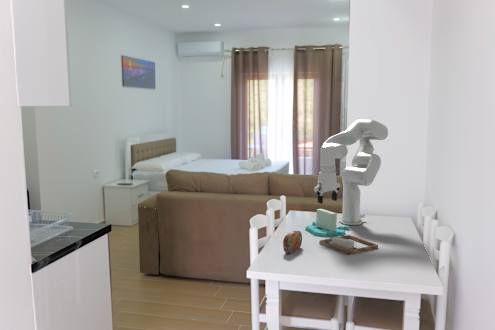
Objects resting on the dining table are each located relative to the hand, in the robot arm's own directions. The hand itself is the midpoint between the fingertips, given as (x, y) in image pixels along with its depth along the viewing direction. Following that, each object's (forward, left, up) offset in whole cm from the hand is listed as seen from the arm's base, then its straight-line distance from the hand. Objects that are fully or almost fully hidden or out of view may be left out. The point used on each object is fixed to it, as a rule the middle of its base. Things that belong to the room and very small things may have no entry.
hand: (327, 201), depth 226 cm
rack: (+8, +24, -16) cm, 30 cm away
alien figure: (+1, 0, -17) cm, 17 cm away
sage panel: (+1, 0, -14) cm, 14 cm away
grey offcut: (+13, +25, -14) cm, 31 cm away
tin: (+35, +16, -16) cm, 42 cm away
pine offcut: (+13, +24, -16) cm, 32 cm away
